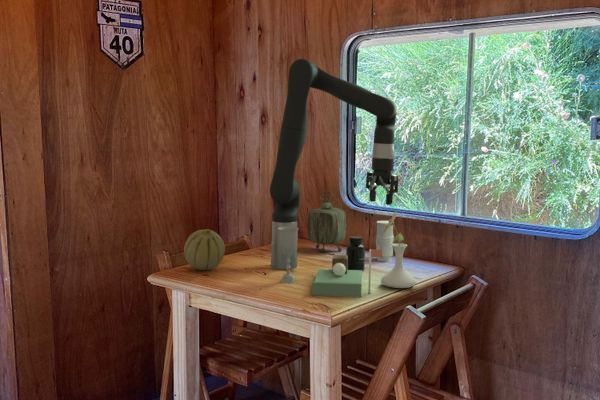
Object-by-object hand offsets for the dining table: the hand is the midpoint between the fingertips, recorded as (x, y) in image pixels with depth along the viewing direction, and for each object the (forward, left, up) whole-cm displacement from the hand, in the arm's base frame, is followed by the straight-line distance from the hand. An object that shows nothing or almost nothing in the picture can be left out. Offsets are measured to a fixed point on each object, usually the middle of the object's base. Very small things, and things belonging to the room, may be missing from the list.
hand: (380, 203), depth 213 cm
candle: (+3, +23, -25) cm, 34 cm away
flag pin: (-2, -26, -25) cm, 37 cm away
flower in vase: (+6, -17, -25) cm, 31 cm away
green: (-13, -19, -25) cm, 34 cm away
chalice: (-30, -15, -25) cm, 43 cm away
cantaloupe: (-62, -3, -25) cm, 68 cm away
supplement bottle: (-8, +5, -25) cm, 27 cm away
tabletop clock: (-21, +36, -25) cm, 49 cm away
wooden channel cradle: (-13, -8, -23) cm, 28 cm away
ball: (-13, -15, -21) cm, 29 cm away
